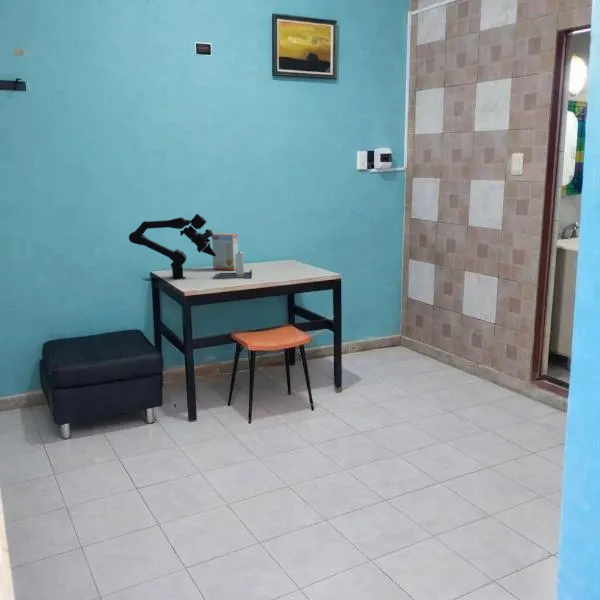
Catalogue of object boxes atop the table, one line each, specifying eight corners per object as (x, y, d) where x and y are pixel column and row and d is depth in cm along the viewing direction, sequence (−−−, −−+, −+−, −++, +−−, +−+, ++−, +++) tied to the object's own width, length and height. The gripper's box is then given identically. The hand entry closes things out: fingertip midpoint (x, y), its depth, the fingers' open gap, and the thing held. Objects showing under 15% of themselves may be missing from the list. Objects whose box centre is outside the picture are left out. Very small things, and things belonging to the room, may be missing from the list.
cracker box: (239, 269, 378) (238, 233, 373) (233, 271, 372) (232, 234, 368) (218, 267, 383) (217, 232, 379) (213, 269, 378) (211, 233, 374)
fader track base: (214, 279, 348) (213, 273, 347) (215, 275, 357) (215, 270, 357) (251, 278, 349) (251, 272, 348) (252, 275, 358) (251, 269, 358)
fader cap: (236, 275, 351) (235, 252, 348) (236, 273, 355) (235, 251, 352) (243, 275, 351) (242, 252, 348) (243, 273, 355) (243, 250, 353)
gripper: (202, 226, 337) (224, 247, 340) (205, 223, 355) (226, 242, 358) (187, 242, 338) (209, 262, 341) (191, 237, 357) (212, 257, 360)
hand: (215, 255), depth 350 cm, fingers closed
